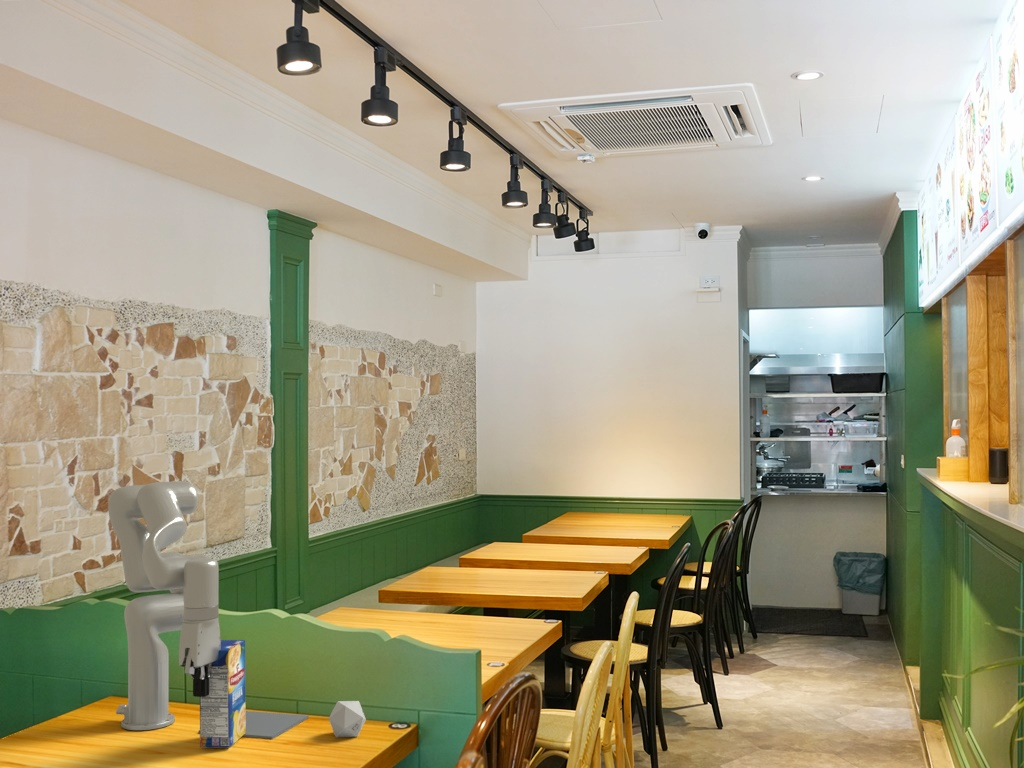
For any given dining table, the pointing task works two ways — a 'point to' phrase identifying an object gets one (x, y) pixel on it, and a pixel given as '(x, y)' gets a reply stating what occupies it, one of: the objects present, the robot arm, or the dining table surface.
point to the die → (347, 719)
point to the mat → (270, 724)
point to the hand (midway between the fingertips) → (201, 695)
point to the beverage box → (225, 698)
